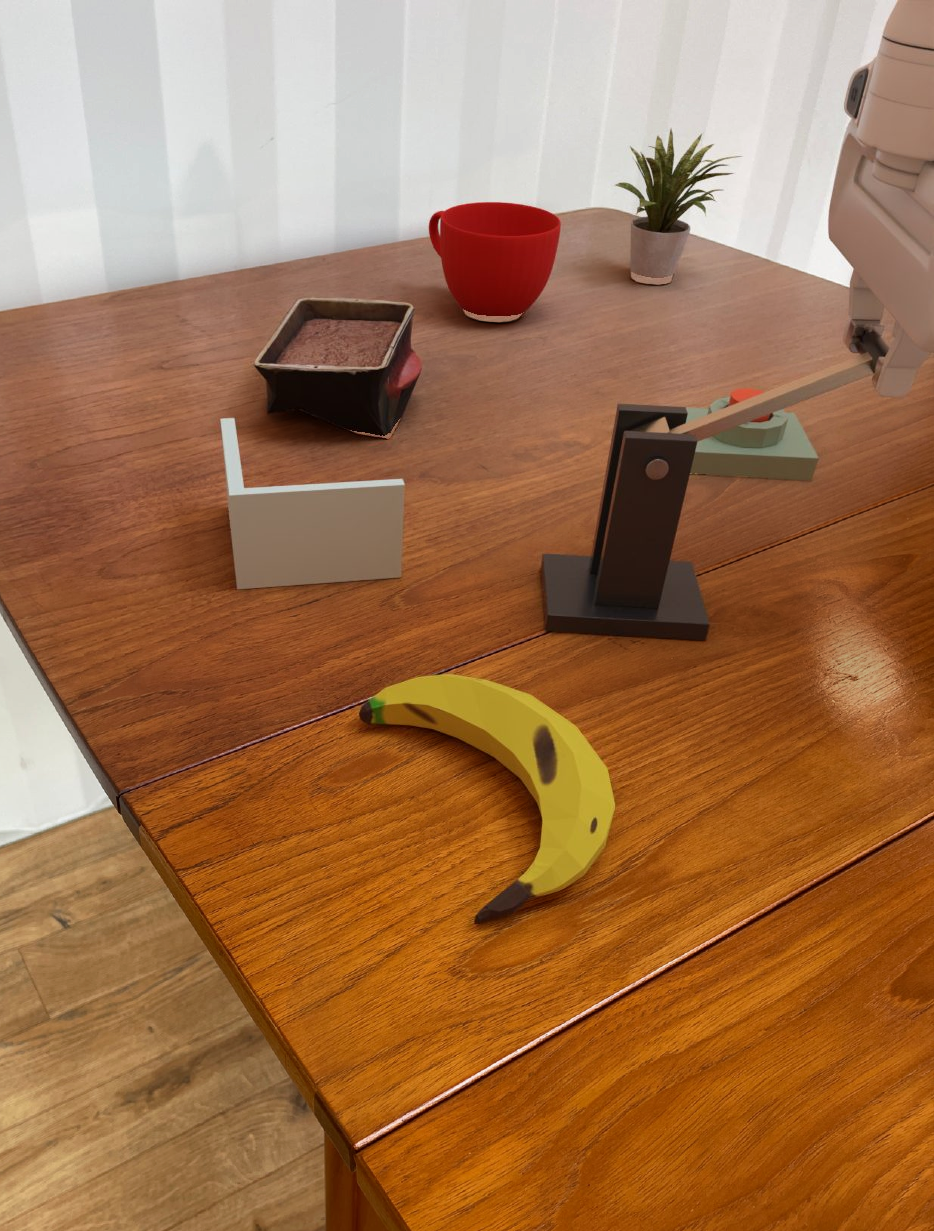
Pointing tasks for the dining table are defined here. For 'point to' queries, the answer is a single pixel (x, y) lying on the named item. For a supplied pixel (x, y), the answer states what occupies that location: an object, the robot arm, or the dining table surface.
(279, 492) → the right angle wall
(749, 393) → the power button
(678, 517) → the hinged bracket stand
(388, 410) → the baking dish
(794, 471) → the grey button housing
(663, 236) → the house plant
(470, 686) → the banana
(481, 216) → the ceramic cup
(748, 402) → the lever switch
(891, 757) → the dining table surface
